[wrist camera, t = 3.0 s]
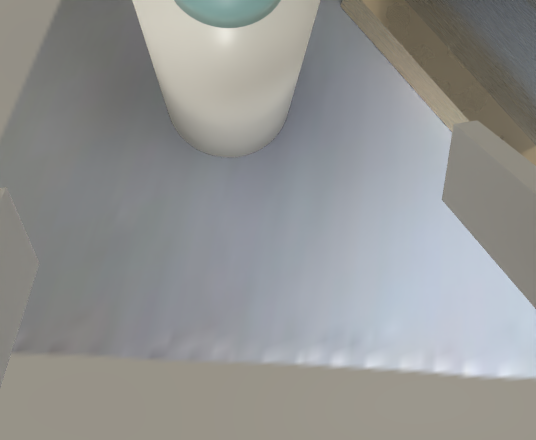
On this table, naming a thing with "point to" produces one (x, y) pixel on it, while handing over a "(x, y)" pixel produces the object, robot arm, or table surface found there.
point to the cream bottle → (227, 67)
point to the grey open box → (463, 59)
